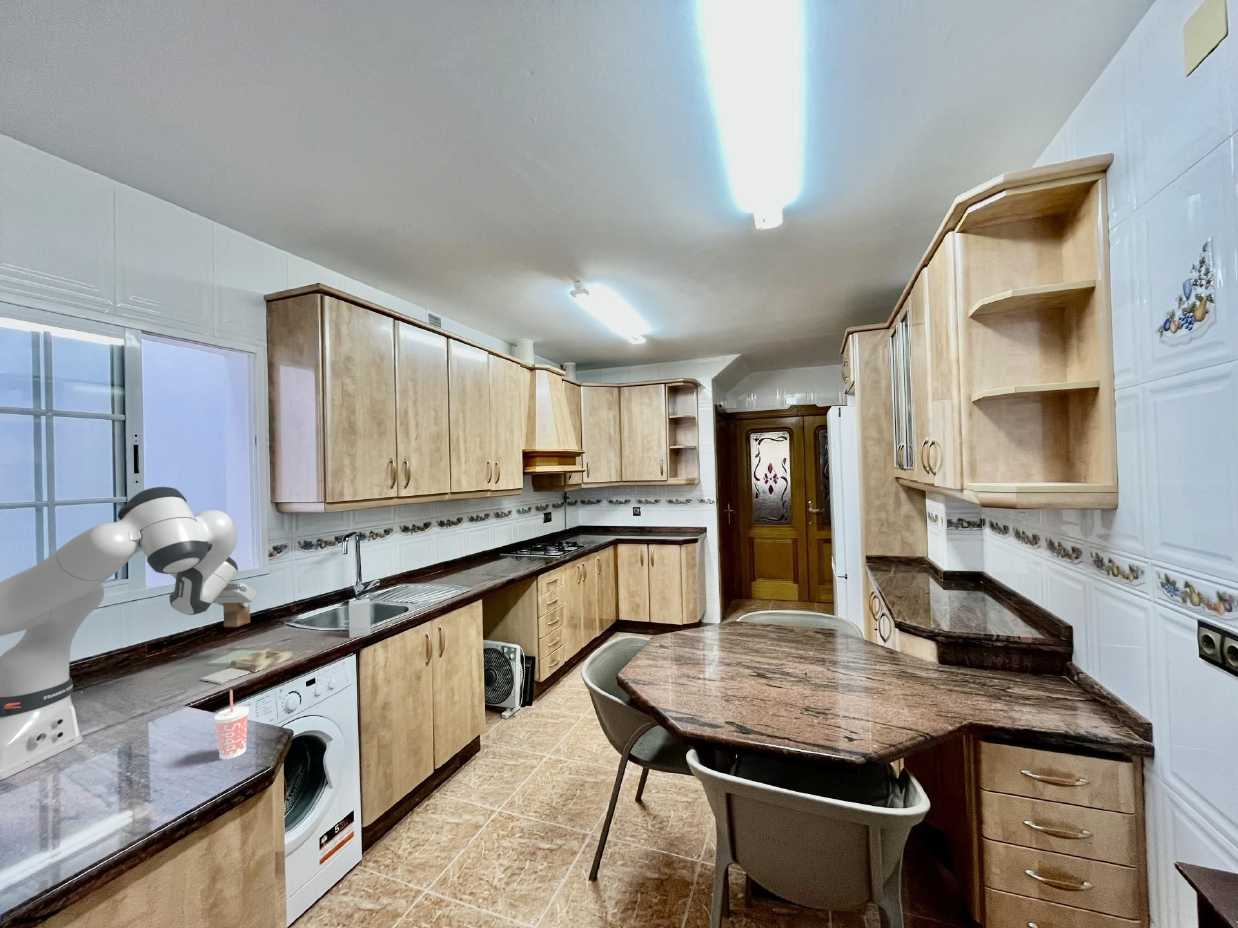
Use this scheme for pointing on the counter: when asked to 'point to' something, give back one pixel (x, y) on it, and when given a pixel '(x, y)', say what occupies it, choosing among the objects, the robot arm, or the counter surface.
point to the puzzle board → (250, 664)
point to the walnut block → (235, 614)
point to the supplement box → (359, 618)
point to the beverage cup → (232, 730)
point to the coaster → (231, 657)
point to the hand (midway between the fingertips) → (238, 605)
